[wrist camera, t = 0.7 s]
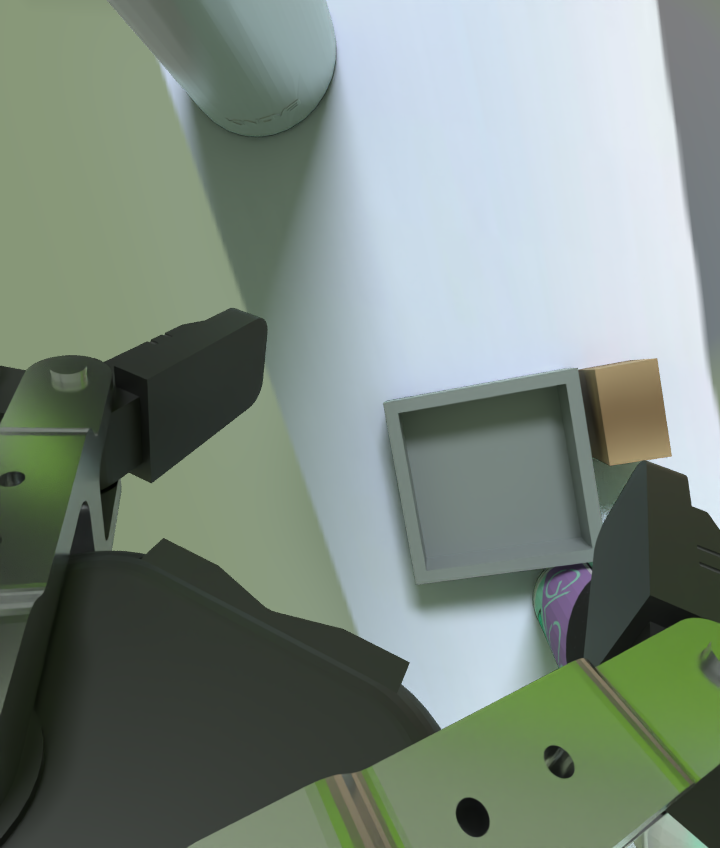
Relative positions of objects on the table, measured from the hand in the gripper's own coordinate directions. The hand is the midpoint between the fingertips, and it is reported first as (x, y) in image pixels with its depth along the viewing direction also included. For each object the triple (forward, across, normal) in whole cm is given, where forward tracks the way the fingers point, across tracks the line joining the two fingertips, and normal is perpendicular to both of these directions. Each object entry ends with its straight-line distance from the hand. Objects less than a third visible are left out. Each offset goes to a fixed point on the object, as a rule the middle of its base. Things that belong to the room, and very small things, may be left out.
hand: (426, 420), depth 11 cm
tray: (+18, -2, +13) cm, 23 cm away
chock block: (+22, -6, +8) cm, 24 cm away
